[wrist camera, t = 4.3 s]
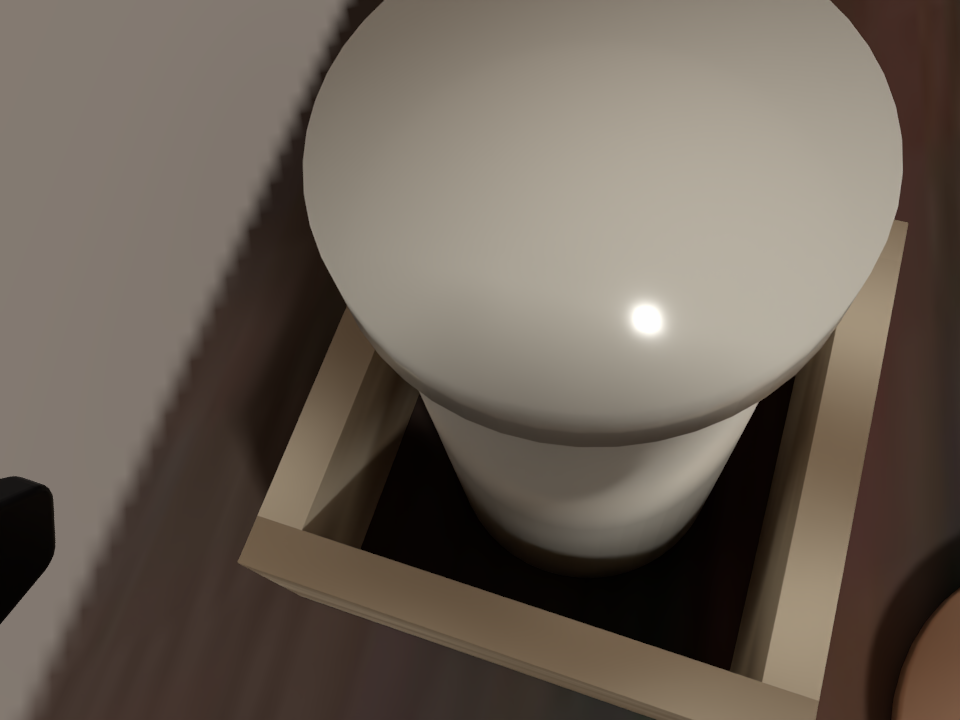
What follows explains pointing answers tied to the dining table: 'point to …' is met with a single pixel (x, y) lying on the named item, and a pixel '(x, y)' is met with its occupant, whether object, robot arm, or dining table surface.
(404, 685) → the dining table surface
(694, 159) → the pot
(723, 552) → the dining table surface
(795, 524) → the beige open box
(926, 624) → the saucer
